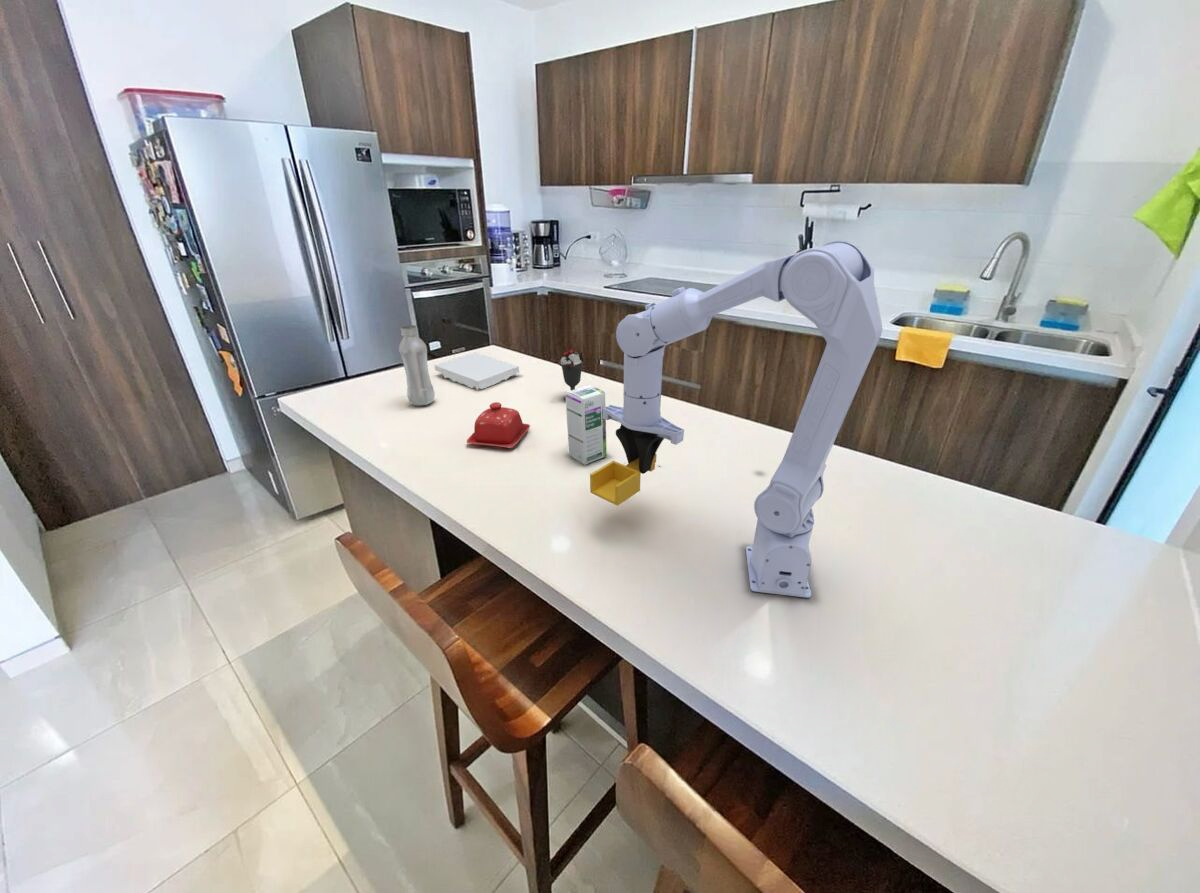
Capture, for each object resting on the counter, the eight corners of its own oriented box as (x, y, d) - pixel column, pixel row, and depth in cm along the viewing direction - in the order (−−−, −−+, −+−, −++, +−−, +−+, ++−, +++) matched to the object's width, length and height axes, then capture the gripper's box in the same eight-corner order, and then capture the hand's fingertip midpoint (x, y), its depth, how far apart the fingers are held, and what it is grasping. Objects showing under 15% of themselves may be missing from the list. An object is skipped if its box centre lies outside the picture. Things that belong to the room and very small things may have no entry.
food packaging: (519, 377, 147) (476, 362, 158) (518, 366, 146) (475, 352, 157) (479, 392, 137) (436, 375, 148) (478, 381, 136) (434, 365, 146)
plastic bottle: (408, 401, 131) (392, 325, 121) (434, 397, 133) (421, 322, 124) (410, 410, 126) (394, 331, 116) (438, 405, 128) (424, 328, 119)
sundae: (556, 402, 129) (553, 345, 122) (565, 393, 135) (563, 338, 128) (580, 405, 127) (578, 347, 120) (588, 395, 133) (587, 340, 126)
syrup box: (585, 466, 100) (583, 398, 93) (567, 455, 104) (564, 390, 97) (607, 457, 103) (606, 391, 96) (589, 446, 107) (587, 383, 100)
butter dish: (464, 447, 107) (458, 411, 103) (487, 425, 117) (482, 391, 113) (513, 452, 105) (509, 416, 101) (532, 429, 115) (530, 395, 111)
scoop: (617, 506, 75) (617, 486, 73) (590, 492, 78) (589, 474, 77) (665, 473, 83) (666, 455, 82) (639, 462, 87) (639, 445, 85)
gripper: (697, 395, 74) (690, 474, 80) (622, 374, 83) (621, 446, 89) (670, 410, 69) (665, 492, 76) (593, 386, 78) (595, 461, 84)
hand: (639, 468), depth 82 cm, fingers closed on scoop
